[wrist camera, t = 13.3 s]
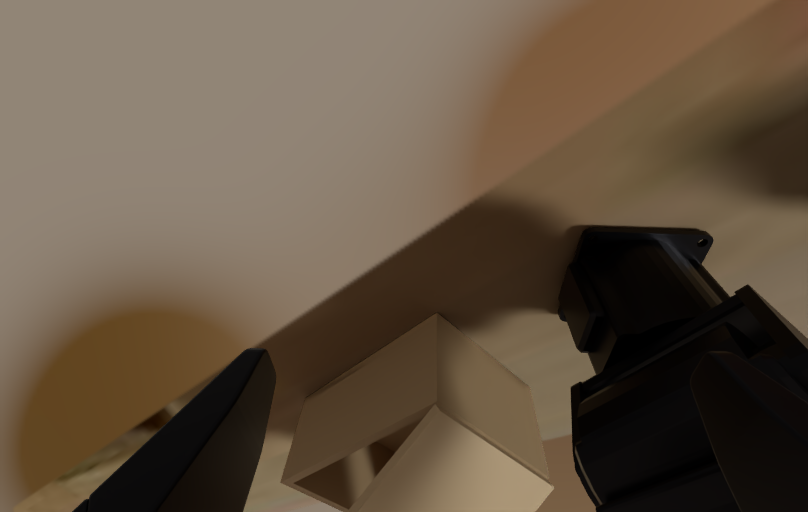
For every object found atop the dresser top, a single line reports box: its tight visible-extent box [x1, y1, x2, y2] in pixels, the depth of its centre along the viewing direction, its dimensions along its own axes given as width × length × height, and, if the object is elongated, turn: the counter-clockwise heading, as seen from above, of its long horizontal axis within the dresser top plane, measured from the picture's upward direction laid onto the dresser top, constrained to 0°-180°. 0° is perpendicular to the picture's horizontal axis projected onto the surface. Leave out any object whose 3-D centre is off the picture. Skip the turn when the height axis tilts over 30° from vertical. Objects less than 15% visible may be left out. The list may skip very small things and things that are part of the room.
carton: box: [281, 313, 550, 512], centre depth 28 cm, size 14×10×6 cm
